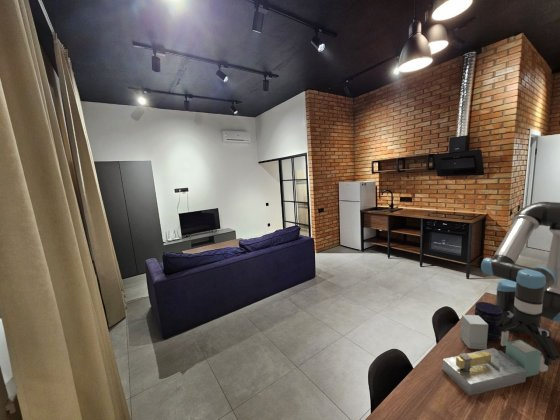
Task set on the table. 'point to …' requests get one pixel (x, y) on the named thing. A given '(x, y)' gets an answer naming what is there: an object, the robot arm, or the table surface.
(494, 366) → the white base platform
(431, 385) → the table surface
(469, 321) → the supplement box
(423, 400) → the table surface
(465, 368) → the hammer with yellow handle
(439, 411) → the table surface
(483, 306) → the storage jar
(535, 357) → the mint green box
